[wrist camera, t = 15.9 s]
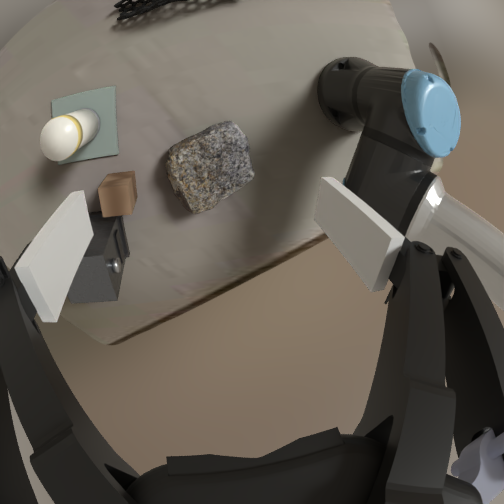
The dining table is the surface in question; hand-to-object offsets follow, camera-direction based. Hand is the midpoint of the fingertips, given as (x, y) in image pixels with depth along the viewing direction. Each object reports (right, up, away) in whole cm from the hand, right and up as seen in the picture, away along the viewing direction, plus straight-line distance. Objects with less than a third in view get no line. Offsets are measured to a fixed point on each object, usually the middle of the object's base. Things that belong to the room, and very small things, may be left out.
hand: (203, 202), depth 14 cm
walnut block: (-20, +9, +29) cm, 37 cm away
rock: (-5, +13, +31) cm, 34 cm away
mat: (-25, +18, +21) cm, 38 cm away
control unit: (-27, +1, +33) cm, 42 cm away
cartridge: (-25, +18, +20) cm, 37 cm away
